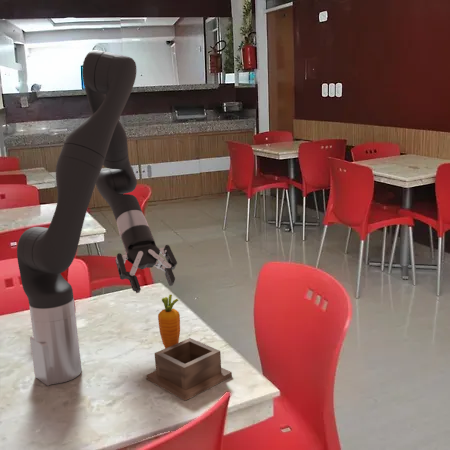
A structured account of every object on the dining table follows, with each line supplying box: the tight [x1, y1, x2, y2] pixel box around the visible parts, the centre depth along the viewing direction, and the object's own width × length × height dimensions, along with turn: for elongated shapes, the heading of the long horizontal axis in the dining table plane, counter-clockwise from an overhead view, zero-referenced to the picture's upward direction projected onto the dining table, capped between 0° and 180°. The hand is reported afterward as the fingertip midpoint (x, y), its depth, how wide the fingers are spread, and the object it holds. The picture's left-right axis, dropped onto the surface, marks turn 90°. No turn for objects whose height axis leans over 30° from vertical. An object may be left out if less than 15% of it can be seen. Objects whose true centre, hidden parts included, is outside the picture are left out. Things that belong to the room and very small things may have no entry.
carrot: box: [157, 294, 181, 349], centre depth 126 cm, size 5×5×15 cm
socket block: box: [145, 337, 233, 402], centre depth 117 cm, size 13×13×6 cm
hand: (155, 287), depth 131 cm, fingers open, 8 cm apart
